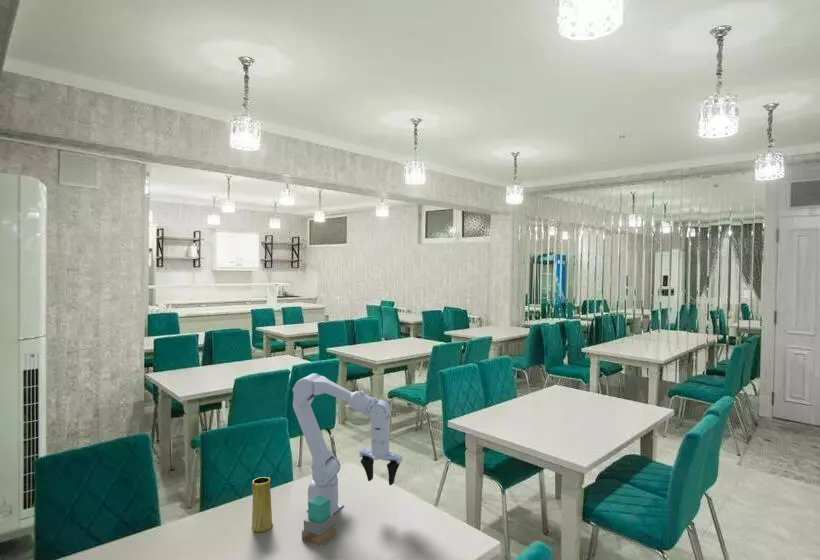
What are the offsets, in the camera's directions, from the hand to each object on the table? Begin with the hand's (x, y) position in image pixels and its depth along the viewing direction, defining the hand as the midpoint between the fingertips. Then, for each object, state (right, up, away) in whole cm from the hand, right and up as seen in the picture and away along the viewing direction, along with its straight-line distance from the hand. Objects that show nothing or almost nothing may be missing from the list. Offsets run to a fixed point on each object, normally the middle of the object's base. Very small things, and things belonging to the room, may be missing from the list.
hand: (380, 481), depth 149 cm
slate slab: (-17, -8, -12) cm, 23 cm away
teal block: (-17, -5, -12) cm, 22 cm away
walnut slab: (-17, -11, -12) cm, 24 cm away
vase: (-36, -11, -7) cm, 38 cm away
